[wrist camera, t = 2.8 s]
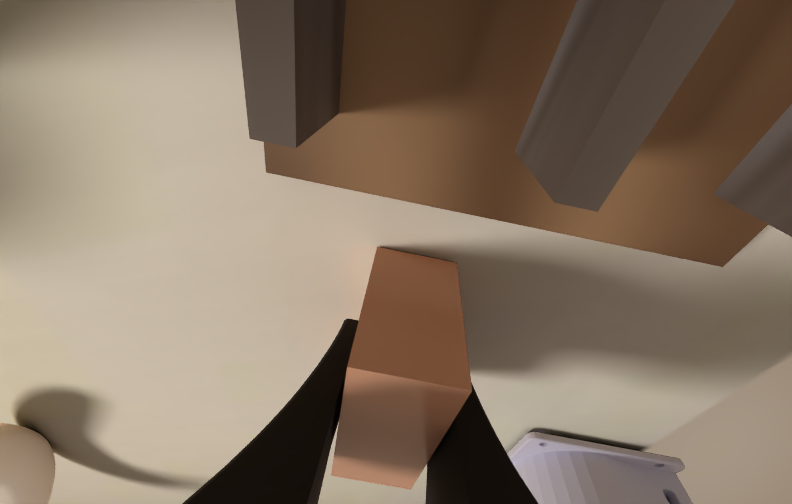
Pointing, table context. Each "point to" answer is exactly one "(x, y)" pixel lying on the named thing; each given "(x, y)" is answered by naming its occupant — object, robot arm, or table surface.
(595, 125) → the slot rack
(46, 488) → the banana
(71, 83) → the table surface
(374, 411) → the salmon rectangular prism
